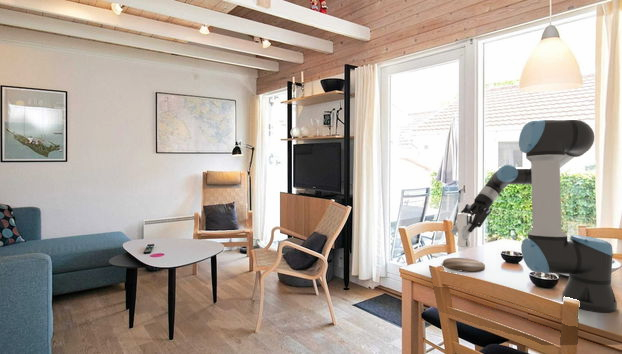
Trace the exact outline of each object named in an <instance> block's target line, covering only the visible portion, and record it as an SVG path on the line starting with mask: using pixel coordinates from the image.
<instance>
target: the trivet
mask: <svg viewBox="0 0 622 354" xmlns="http://www.w3.org/2000/svg"><path fill="white" fill-rule="evenodd" d="M442 265H443V266H444V267H445V268H448V269H449V270H453V269H454V271H457V270H462V271H461V272H464V271H470V272H469V273H476V272H477V271H478V272H482V271H485V269H486V265H485V263H483V262H482V261H480V260H476V259H471V258H466V257H464V258H463V257H451V258H450V257H449V258H445V259H444V260H443V261H442ZM471 271H472V272H471Z"/></svg>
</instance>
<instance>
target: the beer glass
mask: <svg viewBox="0 0 622 354" xmlns="http://www.w3.org/2000/svg"><path fill="white" fill-rule="evenodd" d="M456 217H457V220H456V219H455V224H456V226H457V243H456V245H457V247H461V248H470V247H472V243H471V234H472V232H471V233H470V234H469V235H468V237H467V238H464V237H463V236H462V233H463V232H464V231H465V229H466V228H467V227H468V226H469V225H470V224H471V222H472V221H473V215H472V214H470V213H460V212H457V213H456ZM471 225H472V224H471Z"/></svg>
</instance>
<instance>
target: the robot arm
mask: <svg viewBox="0 0 622 354" xmlns="http://www.w3.org/2000/svg"><path fill="white" fill-rule="evenodd" d="M594 142H595V132H594V130H593V128H592V127H591V126H590V125H589V124H588V123H587V122H585V121H582V120H581V119H576V118H568V119H565V118H564V119H562V118H561V119H560V118H559V119H556V118H555V119H554V118H553V119H550V118H548V119H546V118H545V119H544V118H541V119H531V120H528V122H526V123H524V125H523V127H522V129H521V131H520V133H519V137H518V147H519V150H520V152H522V153H524V154H525V156H526V157H525V158H526V160H528V161H529V162H530V164H531V165H530V167H516V166H515V165H512V164H504V165H502V166H501V167H500V168H498V170H497V171H495V172H494V173H493V174H492V176H491V177H490V179H489V180H488V181H487V182H486V183H485V185H484V186H483V187H482V189H481V190H480V191H479V193H478V194H477V195H476V197H475V198H474V199H473V200H474V201H473V203H472V204H470V205H469V204H465V206H464V208H462V210H461V211H460V212H459V213H470V214H472V216H474V217H473V218H472V220H473V221H472V222H471V224H472V225H471V224H470V225H469V226H468V227H467V228H466V229H465V231H464V232H463V233H462V236H463V237H464V238H467V237H468V235H469V234H470V233H471V234H472V233H473V231H474V230H475V229H476V228H481V227H482V225H483V224H484V222H485V220H486V219H487V217H488V216H489V215H490V214H491V213H492V211H491V209H490V208H491V206H492V205H493V203H494V202H496V199H498V197H499V196H500V194H501V193H502V192H503V191H504V189H505V188H507V187H508V185H531V205H532V206H531V207H532V208H531V209H532V210H531V211H532V216H531V217H532V229H531V230H529V232H528V233H527V238H524V239H523V240H522V242H521V249H520V250H521V251H520V252H521V255H522V258H523V261H524V263H525V265H526V267H527V268H528V269H529V270H530V271H532V272H534V273H538V274H539V273H542V274H546V275H547V274H562V275H565V274H566V275H567V274H568V280H567V282H566V284H565V287H564V289H563V291H562V294H561V295H562V296H561V297H562V298H561V299H562V300H563V297H564V296H565V297H570V298H573V299H577V300H579V301H580V308H579V309H581V310H586V311H591V312H596V313H598V312H599V313H613V312H615V310H616V309H617V307H618V301H617V300H616V297H615V296H616V295H615V293H614V290H613V287H612V275H613V273H612V271H613V257H614V254H613V252H614V250H613V245H612V243H610V242H609V241H607V240H604V239H600V238H596V237H593V236H587V235H581V234H571V235H570V237H569V239H568V234H566V233H565V232H564V231H563V230H562V226H563V225H562V196H561V195H562V194H561V193H562V192H561V168H562V167H563V166H565V165H566V164H567V163H569V162H570V161H571V160H573V159H574V158H578V157H581V156H583V155H584V154H586V153H587V152H588V151H589V150H590V149H591V148H592V146H593V145H594ZM456 220H457V216H456V217H455V221H456ZM450 233H451V234H452V235H453V236H455V235H456V234H458V232H457V226H456V223H454V225H453V227H452V228H451V230H450ZM616 311H617V310H616Z"/></svg>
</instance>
